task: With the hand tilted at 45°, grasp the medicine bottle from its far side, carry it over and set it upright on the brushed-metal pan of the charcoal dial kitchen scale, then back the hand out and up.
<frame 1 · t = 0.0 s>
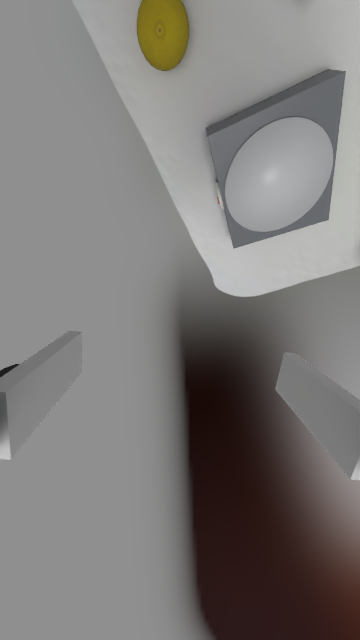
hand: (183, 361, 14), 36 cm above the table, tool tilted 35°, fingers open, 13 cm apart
lemon: (166, 34, 27), on the table
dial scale: (267, 171, 37), on the table
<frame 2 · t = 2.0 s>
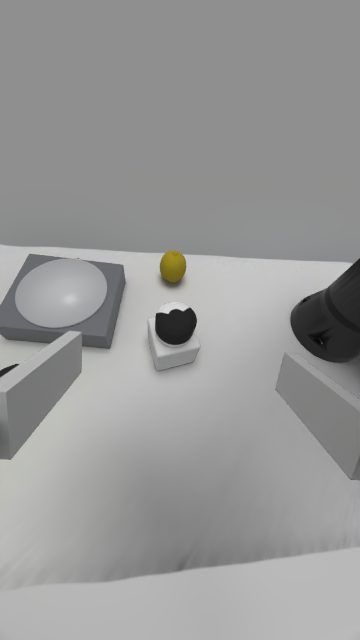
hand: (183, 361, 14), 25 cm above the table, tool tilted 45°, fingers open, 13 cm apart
medicine bottle: (170, 349, 42), on the table
lemon: (171, 279, 51), on the table
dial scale: (72, 307, 44), on the table
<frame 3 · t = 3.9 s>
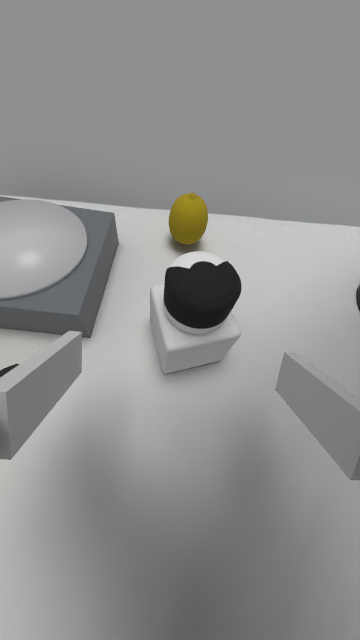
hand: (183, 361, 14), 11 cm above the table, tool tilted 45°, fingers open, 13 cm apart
medicine bottle: (184, 340, 27), on the table
lemon: (184, 244, 36), on the table
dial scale: (36, 275, 29), on the table
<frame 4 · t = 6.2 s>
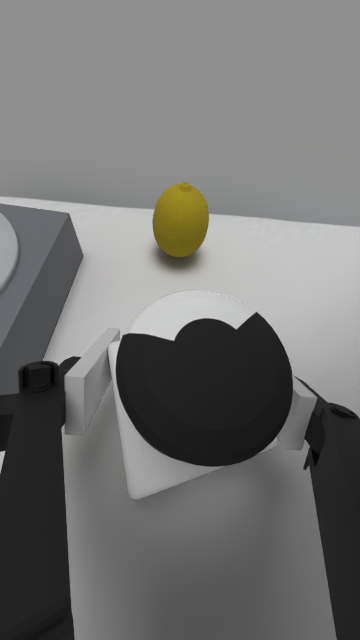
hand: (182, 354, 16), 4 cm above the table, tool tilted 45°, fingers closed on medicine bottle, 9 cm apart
medicine bottle: (174, 411, 17), on the table, touching gripper
lemon: (176, 255, 26), on the table
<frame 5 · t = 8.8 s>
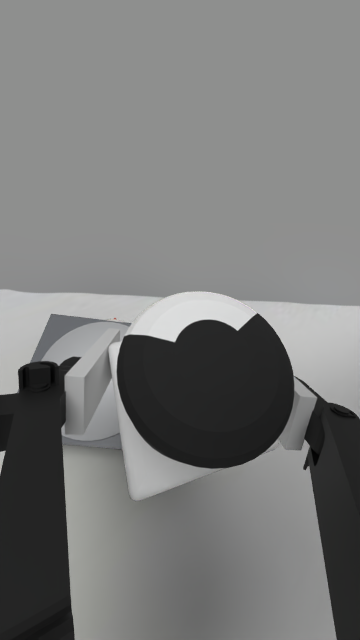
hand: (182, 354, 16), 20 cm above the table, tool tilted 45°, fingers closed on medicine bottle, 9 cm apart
medicine bottle: (174, 412, 17), point 16 cm above the table, touching gripper
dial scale: (106, 384, 33), on the table
when the fingers open (11 cm above the table, at t = 11.8 s): medicine bottle drops 1 cm, resting on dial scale.
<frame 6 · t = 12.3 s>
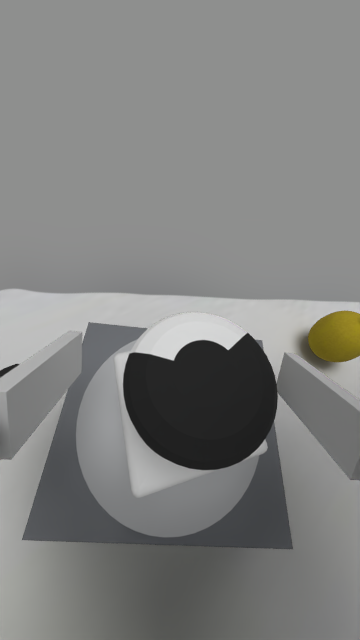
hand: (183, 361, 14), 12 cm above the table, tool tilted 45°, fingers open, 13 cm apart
medicine bottle: (174, 416, 18), point 5 cm above the table, touching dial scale
lemon: (315, 351, 30), on the table
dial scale: (168, 421, 23), on the table
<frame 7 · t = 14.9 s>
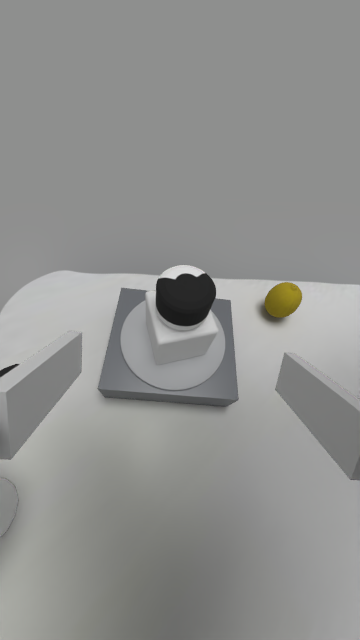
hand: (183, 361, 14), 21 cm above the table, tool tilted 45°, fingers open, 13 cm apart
medicine bottle: (174, 337, 32), point 5 cm above the table, touching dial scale
lemon: (271, 313, 44), on the table
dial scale: (170, 351, 37), on the table
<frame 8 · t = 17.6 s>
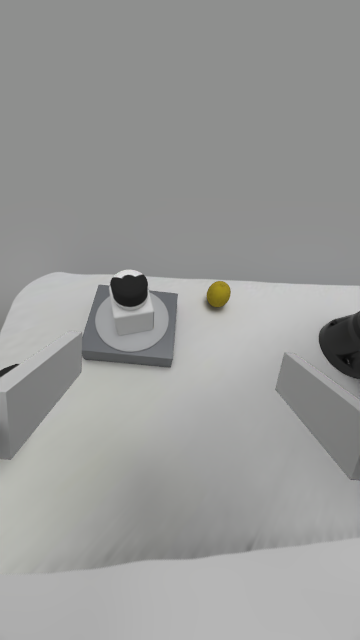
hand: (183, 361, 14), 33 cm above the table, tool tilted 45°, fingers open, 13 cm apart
medicine bottle: (133, 318, 47), point 5 cm above the table, touching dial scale
lemon: (214, 304, 58), on the table
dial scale: (134, 330, 51), on the table
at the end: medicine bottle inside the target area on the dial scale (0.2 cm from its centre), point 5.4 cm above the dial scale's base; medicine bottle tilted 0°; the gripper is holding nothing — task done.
